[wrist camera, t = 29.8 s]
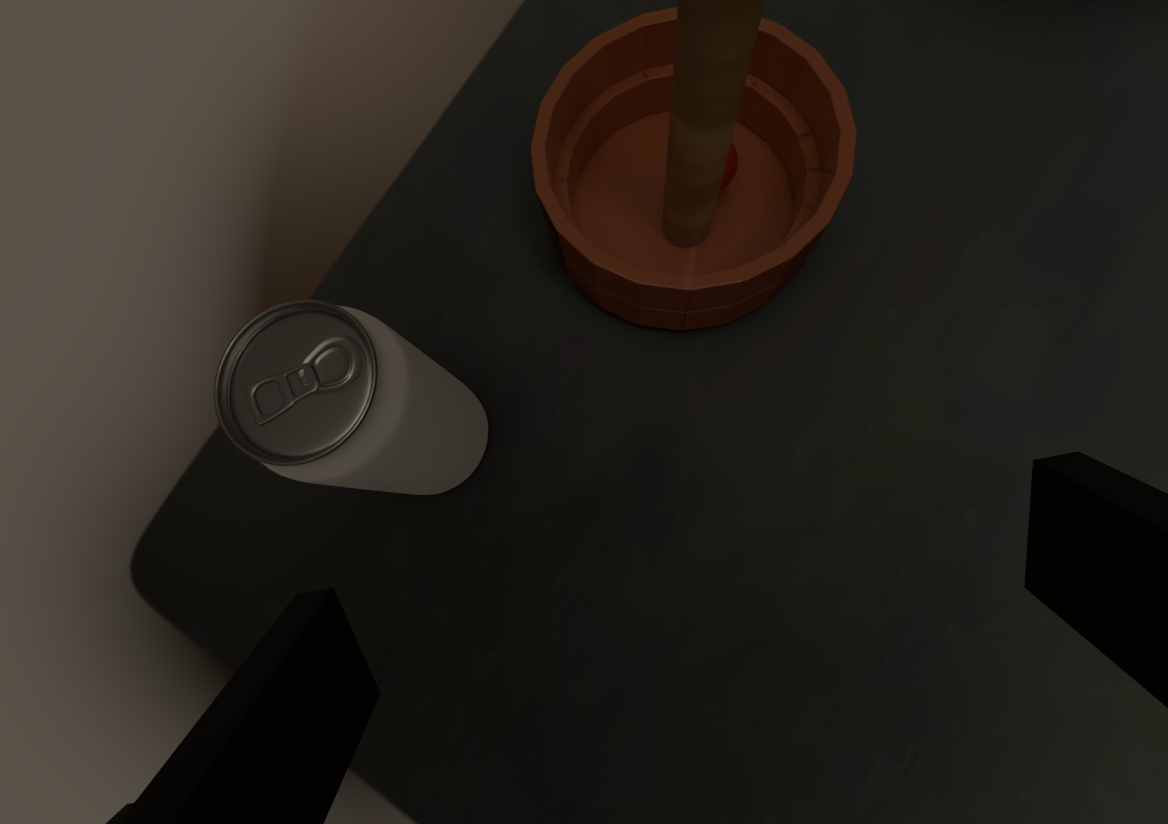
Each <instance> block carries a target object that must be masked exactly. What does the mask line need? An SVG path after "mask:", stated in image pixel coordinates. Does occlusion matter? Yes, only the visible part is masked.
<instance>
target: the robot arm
mask: <svg viewBox="0 0 1168 824" xmlns="http://www.w3.org/2000/svg"><path fill="white" fill-rule="evenodd" d="M1024 587H1025V588H1026V589H1027V590H1028V591H1030V592H1031V593H1032V594H1033V595H1034V596H1036V597H1037V598H1038V599H1039V600H1040V601H1041V602H1043V603H1044V604H1045V605H1046V606H1047V607H1049V608H1050V609H1051V610H1052V611H1053V612H1055V613H1056V614H1057V615H1058V616H1059V617H1060V618H1062V619H1063V620H1064V621H1065V622H1066V623H1068V624H1069V625H1070V626H1071V627H1072V628H1074V629H1075V630H1076V631H1077V632H1078V633H1079V634H1081V635H1082V636H1083V637H1084V638H1085V639H1087V640H1088V641H1089V642H1090V643H1091V644H1093V645H1094V646H1095V647H1096V648H1097V649H1098V650H1100V651H1101V652H1102V653H1103V654H1104V655H1106V656H1107V657H1108V658H1109V659H1110V660H1112V661H1113V662H1114V663H1115V664H1116V665H1117V666H1119V667H1120V668H1121V669H1122V670H1123V671H1125V672H1126V673H1127V674H1128V675H1129V676H1131V677H1132V678H1133V679H1134V680H1135V681H1136V682H1138V683H1139V684H1140V685H1141V686H1142V687H1144V688H1145V689H1146V690H1147V691H1148V692H1150V693H1151V694H1152V695H1153V696H1154V697H1155V698H1157V699H1158V700H1159V701H1160V702H1161V703H1163V704H1164V705H1165V706H1166V707H1167V708H1168V494H1167V493H1165V492H1163V491H1161V490H1159V489H1156V488H1154V487H1152V486H1150V485H1148V484H1146V483H1144V482H1142V481H1139V480H1137V479H1135V478H1133V477H1131V476H1129V475H1127V474H1125V473H1123V472H1120V471H1118V470H1116V469H1114V468H1112V467H1110V466H1108V465H1106V464H1104V463H1101V462H1099V461H1097V460H1095V459H1093V458H1091V457H1089V456H1087V455H1085V454H1082V453H1080V452H1074V453H1068V454H1063V455H1057V456H1052V457H1046V458H1041V459H1035V460H1033V469H1032V484H1031V498H1030V513H1029V527H1028V542H1027V557H1026V571H1025V586H1024ZM379 695H380V692H379V690H378V687H377V685H376V683H375V681H374V678H373V676H372V674H371V672H370V669H369V667H368V665H367V663H366V660H365V658H364V656H363V654H362V651H361V649H360V647H359V645H358V642H357V640H356V638H355V636H354V633H353V631H352V629H351V627H350V624H349V622H348V620H347V618H346V615H345V613H344V611H343V609H342V606H341V604H340V602H339V600H338V597H337V595H336V593H335V591H334V588H328V589H323V590H317V591H312V592H306V593H301V594H296V595H295V597H294V598H293V599H292V600H291V602H290V603H289V604H288V606H287V607H286V608H285V610H284V611H283V612H282V613H281V615H280V616H279V617H278V619H277V620H276V621H275V622H274V624H273V625H272V626H271V628H270V629H269V630H268V631H267V633H266V634H265V635H264V637H263V638H262V639H261V640H260V642H259V643H258V644H257V646H256V647H255V648H254V649H253V651H252V652H251V653H250V655H249V656H248V657H247V658H246V660H245V661H244V662H243V664H242V665H241V666H240V667H239V669H238V670H237V671H236V673H235V674H234V675H233V676H232V678H231V679H230V680H229V682H228V683H227V684H226V686H225V687H224V688H223V689H222V691H221V692H220V693H219V695H218V696H217V697H216V698H215V700H214V701H213V702H212V704H211V705H210V706H209V707H208V709H207V710H206V711H205V713H204V714H203V715H202V716H201V718H200V719H199V720H198V722H197V723H196V724H195V725H194V727H193V728H192V730H191V731H190V732H189V733H188V735H187V736H186V737H185V738H184V740H183V741H182V742H181V744H180V745H179V746H178V747H177V749H176V750H175V751H174V752H173V754H172V755H171V756H170V758H169V759H168V760H167V762H166V763H165V764H164V766H163V767H162V768H161V769H160V771H159V772H158V773H157V774H156V776H155V777H154V778H153V780H152V781H151V782H150V783H149V785H148V786H147V787H146V789H145V790H144V791H143V792H142V794H141V795H140V796H139V798H138V799H137V800H136V801H135V803H131V804H126V805H125V807H123V808H122V809H121V810H120V811H119V812H118V813H117V814H116V815H115V816H114V817H112V818H111V819H110V820H109V821H108V822H107V823H106V824H324V821H325V819H326V817H327V814H328V812H329V810H330V808H331V805H332V803H333V801H334V798H335V796H336V794H337V792H338V789H339V787H340V785H341V782H342V780H343V778H344V775H345V773H346V771H347V769H348V766H349V764H350V762H351V760H352V757H353V755H354V753H355V750H356V748H357V746H358V743H359V741H360V739H361V737H362V734H363V732H364V730H365V727H366V725H367V723H368V721H369V718H370V716H371V714H372V711H373V709H374V707H375V705H376V702H377V700H378V698H379Z"/></svg>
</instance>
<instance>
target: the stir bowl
mask: <svg viewBox="0 0 1168 824" xmlns="http://www.w3.org/2000/svg"><path fill="white" fill-rule="evenodd" d="M677 9H678V7H674V8H669V9H664V10H660V11H655V12H650V13H645V14H640V15H639V16H636V17H634V18H632V19H630V20H628V21H626V22H624V23H622V24H620V25H618V26H616V27H614V28H612V29H610V30H608V31H606V32H604V33H602V34H600V35H598V37H597V36H596V37H595V38H594V39H593V40H592V41H591V42H589V43H588V44H587V45H586V46H585V47H584V48H583V49H582V50H581V51H580V52H578V53H577V54H576V55H575V56H574V57H573V58H572V59H571V60H570V61H568V62H567V63H566V64H565V65H564V66H563V67H562V69H561V70H560V72H559V74H558V75H557V77H556V79H555V80H554V82H553V84H552V85H551V87H550V89H549V90H548V92H547V94H546V95H545V97H544V99H543V100H542V102H541V104H540V107H539V112H538V116H537V121H536V125H535V130H534V134H533V139H532V143H531V149H530V150H531V157H532V165H533V173H534V181H535V189H536V193H537V196H538V199H539V202H540V205H541V208H542V211H543V214H544V218H545V221H546V224H547V227H548V230H549V233H550V236H551V239H552V242H553V246H554V248H555V250H556V252H557V254H558V256H559V258H560V259H561V261H562V263H563V265H564V267H565V269H566V271H567V273H568V275H569V277H570V279H571V280H572V281H573V282H574V283H575V284H576V285H577V286H578V287H579V288H580V289H581V290H582V291H584V292H585V293H586V294H587V295H588V296H589V297H590V298H591V299H592V300H593V301H594V302H595V303H596V304H597V305H598V306H600V307H601V308H603V309H605V310H607V311H609V312H611V313H613V314H615V315H618V316H620V317H622V318H624V319H626V320H628V321H630V322H632V323H635V324H637V325H642V326H649V327H657V328H664V329H671V330H679V331H681V330H683V331H685V330H691V329H697V328H703V327H709V326H716V325H722V324H725V323H729V322H731V321H733V320H735V319H737V318H739V317H741V316H743V315H745V314H747V313H749V312H751V311H753V310H755V309H757V308H759V307H761V306H763V305H765V304H767V303H768V302H769V301H770V300H771V299H772V298H773V297H774V296H775V295H776V294H777V293H778V292H779V291H780V290H781V289H782V288H783V287H784V286H785V285H786V284H787V283H788V282H789V281H790V280H791V279H792V278H793V277H794V276H795V275H796V274H797V273H798V271H799V270H800V268H801V266H802V265H803V263H804V262H805V260H806V259H807V257H808V255H809V254H810V252H811V251H812V249H813V248H814V246H815V244H816V243H817V241H818V240H819V238H820V237H821V235H822V233H823V232H824V230H825V229H826V227H827V226H828V224H829V222H830V221H831V219H832V217H833V215H834V213H835V211H836V209H837V207H838V205H839V203H840V201H841V199H842V197H843V195H844V193H845V191H846V189H847V187H848V185H849V183H850V181H851V178H852V173H853V164H854V154H855V144H856V135H857V132H856V131H857V130H856V127H855V123H854V119H853V116H852V112H851V108H850V105H849V101H848V97H847V94H846V90H845V88H844V86H843V85H842V84H841V82H840V81H839V79H838V78H837V77H836V75H835V74H834V72H833V71H832V70H831V68H830V67H829V65H828V64H827V63H826V61H825V60H824V58H823V57H822V56H821V54H820V53H819V52H818V51H817V50H816V49H815V48H814V47H812V46H811V45H809V44H808V43H807V42H805V41H804V40H802V39H801V38H800V37H798V36H797V35H795V34H794V33H793V32H791V31H790V30H788V29H787V28H786V27H784V26H783V25H781V24H779V23H777V22H774V21H771V20H768V19H765V18H763V17H761V20H760V24H759V28H758V33H757V37H756V41H755V45H754V49H753V53H752V57H751V62H750V66H749V70H748V74H747V78H746V82H745V87H744V91H743V95H742V99H741V103H740V107H739V112H738V116H737V120H736V124H735V128H734V132H733V137H732V143H733V144H734V146H735V148H736V150H737V154H738V168H737V172H736V174H735V177H734V178H733V180H732V181H731V183H730V184H729V185H728V186H727V187H726V188H725V189H723V190H722V191H720V192H719V195H718V199H717V203H716V207H715V212H714V216H713V220H712V224H711V228H710V232H709V234H708V236H707V237H706V238H705V240H703V241H702V242H701V243H699V244H697V245H695V246H692V247H679V246H676V245H674V244H672V243H671V242H670V241H668V240H667V238H666V237H665V235H664V233H663V230H662V217H663V203H664V189H665V175H666V162H667V148H668V134H669V120H670V106H671V92H672V78H673V65H674V51H675V37H676V23H677Z"/></svg>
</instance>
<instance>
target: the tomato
mask: <svg viewBox="0 0 1168 824" xmlns="http://www.w3.org/2000/svg"><path fill="white" fill-rule="evenodd" d="M737 168H738V154H737V150H736V148H735V146H734V144H733V143H732V141H731V145H730V149H729V153H728V157H727V162H726V166H725V170H724V174H723V178H722V182H721V187H720V191H722V190H723V189H725V188H726V187H727V186H728V185H729V184H730V183H731V181H732V180H733V178H734V177H735V174H736V172H737ZM720 191H719V192H720Z"/></svg>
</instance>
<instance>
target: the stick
mask: <svg viewBox="0 0 1168 824" xmlns="http://www.w3.org/2000/svg"><path fill="white" fill-rule="evenodd" d="M764 3H765V0H678V9H677V23H676V37H675V51H674V65H673V78H672V92H671V106H670V120H669V134H668V148H667V162H666V175H665V189H664V203H663V217H662V230H663V233H664V235H665V237H666V238H667V240H668V241H670V242H671V243H672V244H674V245H676V246H679V247H692V246H695V245H697V244H699V243H701V242H702V241H703V240H705V238H706V237H707V236H708V234H709V232H710V228H711V224H712V220H713V216H714V212H715V207H716V203H717V199H718V195H719V191H720V187H721V182H722V178H723V174H724V170H725V166H726V162H727V157H728V153H729V149H730V145H731V141H732V137H733V132H734V128H735V124H736V120H737V116H738V112H739V107H740V103H741V99H742V95H743V91H744V87H745V82H746V78H747V74H748V70H749V66H750V62H751V57H752V53H753V49H754V45H755V41H756V37H757V33H758V28H759V24H760V20H761V16H762V12H763V8H764Z"/></svg>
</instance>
